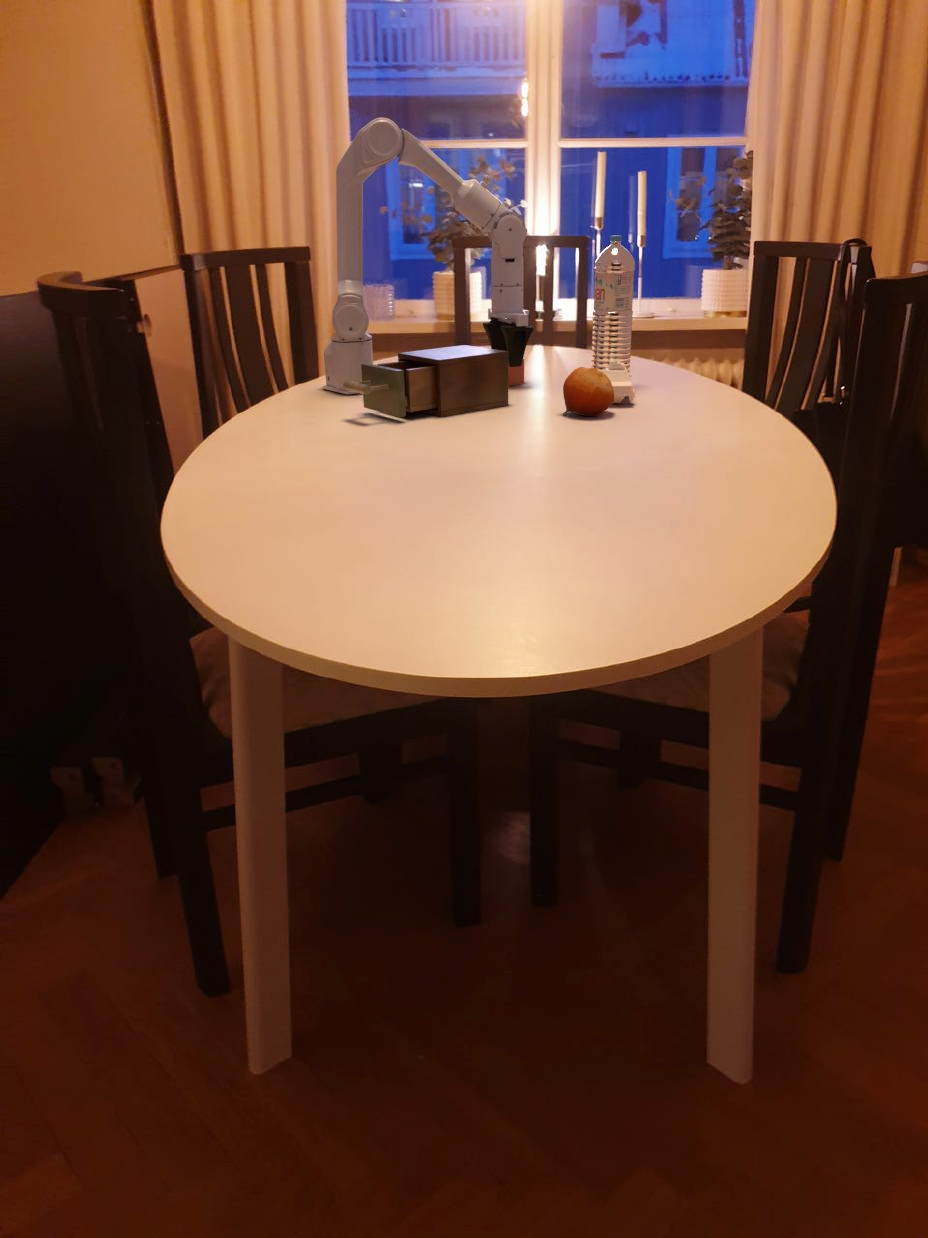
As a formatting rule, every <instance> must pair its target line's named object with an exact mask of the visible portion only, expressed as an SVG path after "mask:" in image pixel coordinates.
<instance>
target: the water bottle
mask: <svg viewBox="0 0 928 1238" xmlns="http://www.w3.org/2000/svg"><path fill="white" fill-rule="evenodd" d="M622 239H623V237H622V235H621V234H617V235H616V234H615V235H614V234H613V235H610V236H609V240H610V241H609V242H610V245H609V246H607V247H606V248H604V249H603V250H602V251H601V252H600V254H599V255H598V256H597V258H596V259H595V262H594V269H593V270H594V271H593V272H595V273H594V289H593V291H594V292H593V311H592V330H591V331H592V333H591V337H592V338H591V348H592V349H591V362H590V363H591V366H590V368H595V369H597V370H598V371H600V372H602V373H604V371H605V368H607V366H608V365H609V361H610V360H614V359H617V361H618V360H619V361H620V362H621V361H622V363H624V364H625V367H626V369H627V371H628V375H631V373H630V372H631V370H630V369H631V356H632V355H631V353H632V336H633V335H632V331H633V327H632V326H633V314H634V310H633V301H634V280H635V271H636V261H635V259H634V257H633V255H632V254H631V252H630V251H629V250H628V249H627V248H625V247H624V246H623V245H621V242H622Z"/></svg>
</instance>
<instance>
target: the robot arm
mask: <svg viewBox="0 0 928 1238" xmlns="http://www.w3.org/2000/svg"><path fill="white" fill-rule="evenodd" d="M396 157H398V160H397V165H400V166H406V167H407V166H408V167H414V168H415V169H417V170H418V171H420V173H422V174H423V175H425V176H426V177H427V178H429V179H430V180H431V181H432V182H434V183H435V184H436V185H437V186H438V187H440V188H441V189H443V190H444V191H445V192H446V193H448V194H449V195H450V196H452V198H453V206H454V209H455V210H456V211H457V212H458V213H459V214H461V216H463V217H464V218H465V219H467V220H468V221H469V222H470V223H471V224H472V225H474V226H475V227H476V228H477V229H479V230H480V231H481V232H482V233H487V237H488V239H489V241H490V242H491V257H490V278H491V280H490V282H491V283H490V286H491V287H490V288H491V289H490V293H491V294H490V295H491V301H490V302H491V307H490V308H487V320H489V321H486V322H485V321H484V322H482V327H483V329H484V330H485V334H486V336H487V338H488V341H489V344H490V349H496V350H503V351H508V362H509V366H510V367H519V366H521V365H522V362H523V359H524V357H525V353H526V348H527V345H528V342H529V340H530V337H531V335H532V334H533V332H534V326H532V325H529V315H530V310H529V309H524V256H523V255H524V253H523V252H524V247H523V246H524V245H523V244H524V241H525V239H526V237H527V235H528V229H527V228H526V224H525V221H524V219H523V217H522V216H521V215H520V214H519V213H517V212H514V211H510V210H508V209H509V207H510V204H509V203H508V202H506V201H503V202H502V201H501V200H500V199H499V198H498V197H496V196H495V195H494V194H493V193H492V192H491V191H489V190H488V187H489V185H488V183H486V182H485V181H484V180H481V181H480V182H479V181H478V180H477V179H475V178H473V179H468V180H464V179H463V178H462V177H461V176H460V175H458V174H457V172H455V171H454V170H453V169H452V168H451V167H450V166H449V165H448V164H447V163H446V162H445V161H443V160H442V159H441V158H440V157H439V156H438V155H437V154H436V153H435V152H434V151H432V149H430V148H429V147H428V146H427V145H426V144H425V143H423V141H421V140H420V139H418V137H416V136H415V135H414V134H412V133H411V132H409V131H408V130H406V129H404V128H403V127H402V128H399V126H398V125H397V123H395V121H393V120H391V119H390V118H388V117H387V118H386V117H376V118H375V119H372V120H370V121H369V122H368V123H366V124H365V126H363V127H362V128H360V129H359V130H358V131H357V133H356V135H355V137H354V138H353V140H352V141H351V143H350V145H349V146H348V148H347V149H346V151H345V153H344V154H343V155H342V157H341V158H340V161H338V164H337V165H336V168H335V189H336V191H335V195H336V196H335V197H336V198H335V199H336V201H335V202H336V268H337V269H336V277H337V278H336V279H337V281H336V283H337V285H336V286H337V287H336V289H337V292H336V293H337V299H336V303H335V305H334V307H333V310H332V314H331V317H332V319H331V322H332V323H331V324H332V328H333V330H334V331H335V333H334V334H333V335H331V338H330V340H329V341H328V342H327V343H326V344H325V347H324V350H323V363H324V375H325V385H322V386H321V389H323V390H328V391H332V392H335V393H340V394H343V395H355V394H358V393H357V392H353V391H349V390H346V389H344V387H343V384H344V382H345V381H352V382H362V371H361V364H365V363H369V364H374V353H373V339H372V338H373V336H372V335H371V334H369V333H367V330H368V328H369V324H370V319H369V314H368V312H367V309H366V307H365V304H364V182H365V181H367V179H368V178H369V177H371V176H372V175H373V174H374V172H375V171H376V170H377V169H380V168H381V167H384V166H386V165H387V164H390V163H391V162H392V161H394V160H395V159H396Z"/></svg>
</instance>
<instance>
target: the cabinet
mask: <svg viewBox="0 0 928 1238" xmlns="http://www.w3.org/2000/svg"><path fill="white" fill-rule="evenodd" d="M405 360H412V361H418V362H423V363H429V364H435V365H437V387H438V408H433V409H427V410H421V411H419V412H420V413H424V414H428V415H432V416H437V417H441V418H443V417H449V416H454V415H460V414H466V413H473V412H478V411H484V410H489V409H490V410H491V409H494V408H502V407H507V406H509V386H508V351H503V350H496V349H491V348H489V347H482V346H474V345H466V344H461V345H454V346H446V347H437V348H428V349H421V350H420V349H419V350H410V351H403V352H398V353H397V362H398V361H405Z"/></svg>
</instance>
